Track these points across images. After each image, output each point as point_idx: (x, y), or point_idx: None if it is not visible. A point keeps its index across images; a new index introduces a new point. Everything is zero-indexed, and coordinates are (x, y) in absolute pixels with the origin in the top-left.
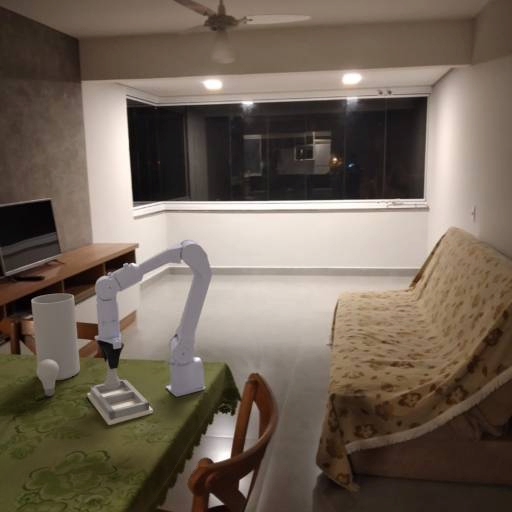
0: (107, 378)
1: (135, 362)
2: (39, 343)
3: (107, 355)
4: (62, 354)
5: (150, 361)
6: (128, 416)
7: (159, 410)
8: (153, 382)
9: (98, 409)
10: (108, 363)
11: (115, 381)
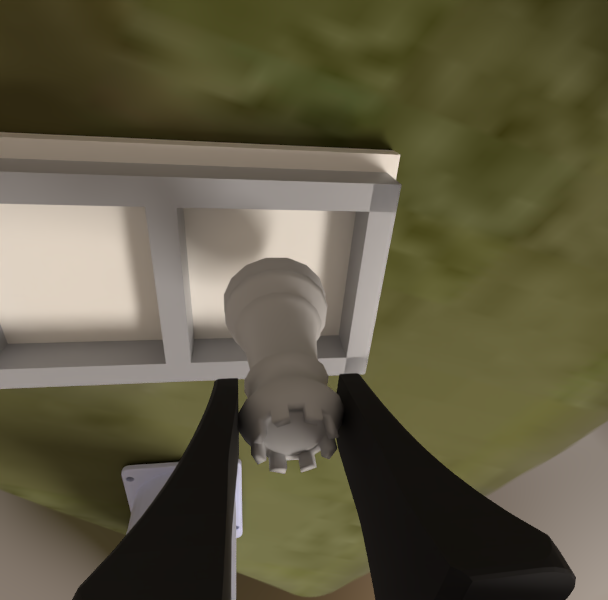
0: (268, 305)
1: (564, 429)
2: None
3: (155, 502)
4: None
5: (521, 467)
6: None
7: (13, 389)
8: None
9: (132, 141)
10: (226, 409)
11: (233, 332)
